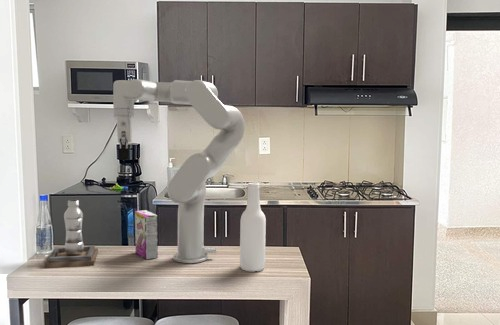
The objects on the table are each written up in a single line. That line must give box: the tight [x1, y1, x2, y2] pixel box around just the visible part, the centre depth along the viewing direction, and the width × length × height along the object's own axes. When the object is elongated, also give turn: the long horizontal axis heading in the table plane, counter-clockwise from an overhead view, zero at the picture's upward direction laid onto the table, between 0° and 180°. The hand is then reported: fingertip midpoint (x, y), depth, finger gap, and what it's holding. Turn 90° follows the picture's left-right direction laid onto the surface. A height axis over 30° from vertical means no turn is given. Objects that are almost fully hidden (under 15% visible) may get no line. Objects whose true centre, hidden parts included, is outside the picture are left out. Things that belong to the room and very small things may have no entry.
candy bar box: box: [134, 209, 159, 261], centre depth 173 cm, size 11×5×16 cm, turn 34°
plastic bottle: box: [63, 199, 85, 255], centre depth 167 cm, size 6×7×20 cm
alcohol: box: [239, 182, 267, 273], centre depth 159 cm, size 9×9×30 cm
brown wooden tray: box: [44, 245, 99, 269], centre depth 167 cm, size 16×16×3 cm
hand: (124, 158), depth 175 cm, fingers open, 9 cm apart
